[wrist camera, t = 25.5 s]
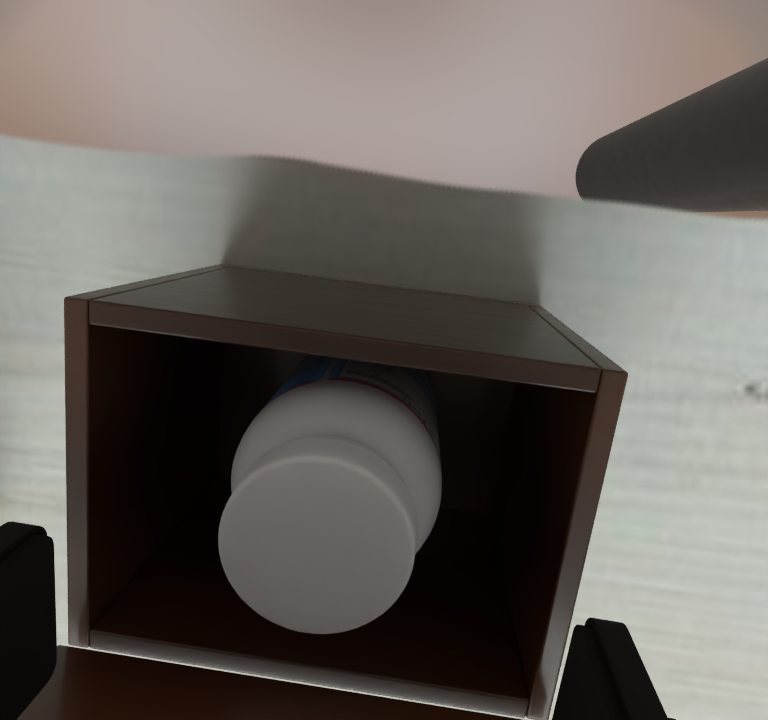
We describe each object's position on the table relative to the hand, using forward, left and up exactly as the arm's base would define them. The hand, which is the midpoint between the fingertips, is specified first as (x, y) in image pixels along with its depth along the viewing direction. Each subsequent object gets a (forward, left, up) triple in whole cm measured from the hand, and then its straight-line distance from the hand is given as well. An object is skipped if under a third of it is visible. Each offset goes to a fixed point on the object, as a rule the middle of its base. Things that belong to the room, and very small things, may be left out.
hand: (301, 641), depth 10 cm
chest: (+1, 0, -15) cm, 15 cm away
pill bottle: (0, 0, -15) cm, 15 cm away
